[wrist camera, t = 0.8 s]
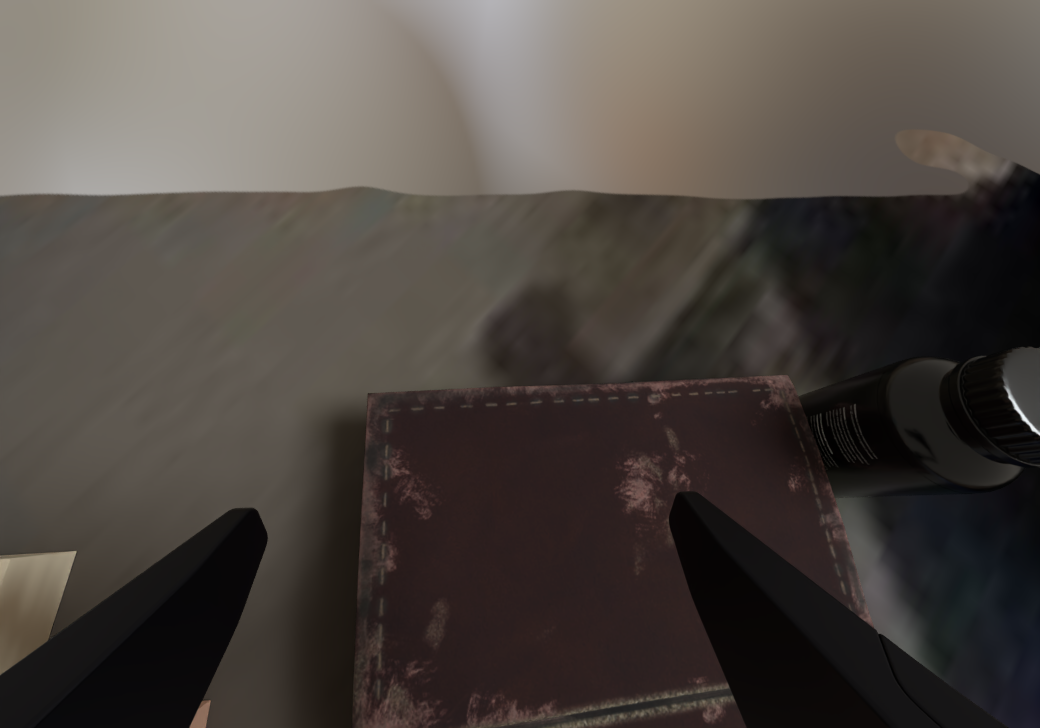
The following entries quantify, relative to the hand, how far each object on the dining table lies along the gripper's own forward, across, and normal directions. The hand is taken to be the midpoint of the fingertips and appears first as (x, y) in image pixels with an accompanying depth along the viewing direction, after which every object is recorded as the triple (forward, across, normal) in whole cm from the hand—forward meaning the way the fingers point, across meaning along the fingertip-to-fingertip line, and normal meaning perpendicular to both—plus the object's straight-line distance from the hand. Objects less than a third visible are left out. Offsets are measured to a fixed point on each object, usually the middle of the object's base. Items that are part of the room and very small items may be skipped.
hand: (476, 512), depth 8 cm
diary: (+9, -7, +14) cm, 18 cm away
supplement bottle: (+13, -22, +10) cm, 28 cm away
